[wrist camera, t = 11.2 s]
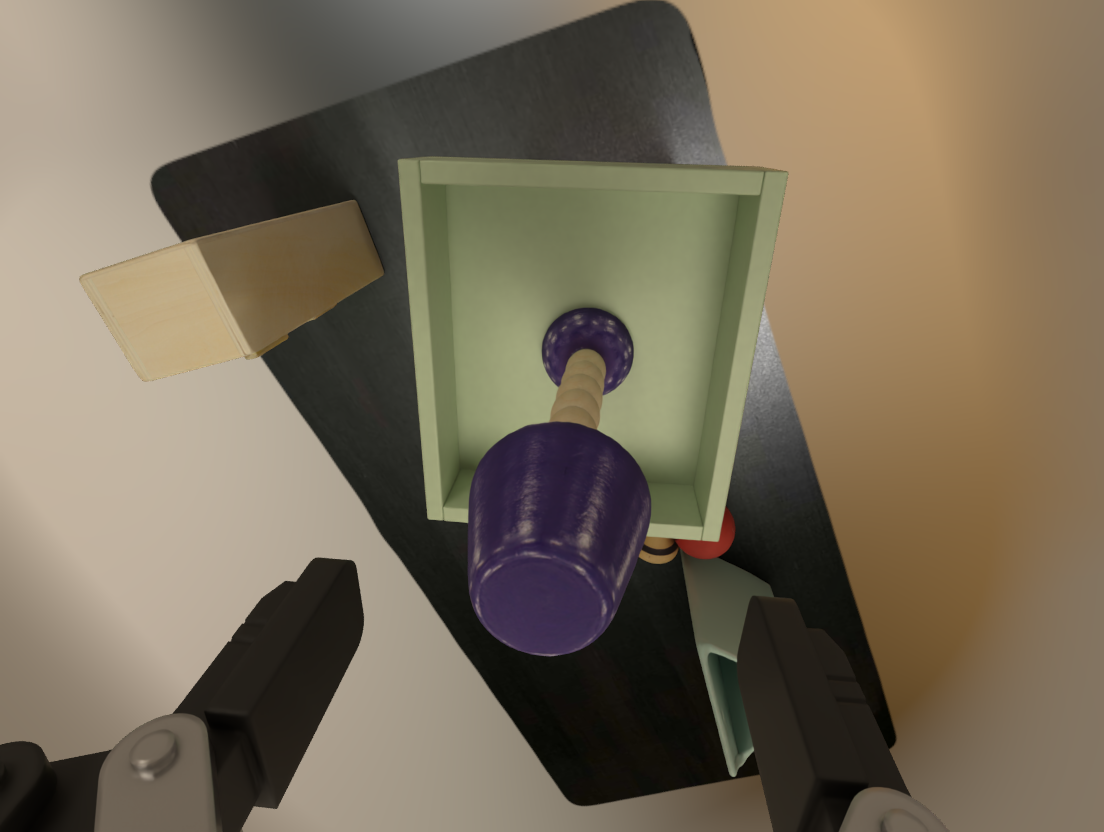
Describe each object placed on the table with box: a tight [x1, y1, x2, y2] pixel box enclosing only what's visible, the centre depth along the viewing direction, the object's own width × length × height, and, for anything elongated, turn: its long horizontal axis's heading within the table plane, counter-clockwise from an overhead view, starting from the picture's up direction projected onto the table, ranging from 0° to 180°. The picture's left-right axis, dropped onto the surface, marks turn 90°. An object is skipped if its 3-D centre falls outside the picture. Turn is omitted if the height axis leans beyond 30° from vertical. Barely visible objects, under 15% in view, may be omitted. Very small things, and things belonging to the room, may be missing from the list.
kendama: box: [639, 506, 735, 564], centre depth 57 cm, size 8×6×18 cm
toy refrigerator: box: [79, 200, 384, 382], centre depth 41 cm, size 8×7×21 cm
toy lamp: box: [468, 308, 651, 656], centre depth 19 cm, size 5×5×17 cm
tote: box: [398, 156, 788, 542], centre depth 25 cm, size 16×14×4 cm
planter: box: [680, 548, 774, 777], centre depth 54 cm, size 16×8×20 cm, turn 20°
